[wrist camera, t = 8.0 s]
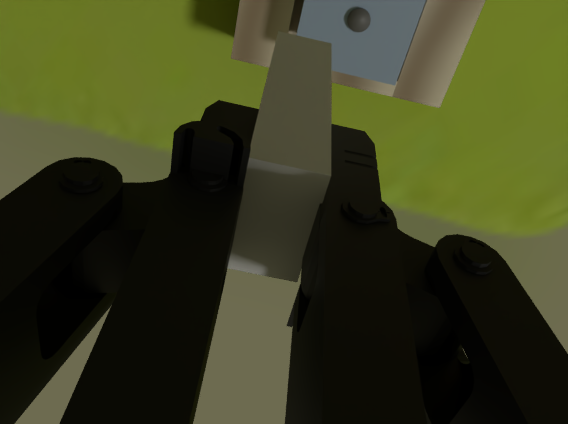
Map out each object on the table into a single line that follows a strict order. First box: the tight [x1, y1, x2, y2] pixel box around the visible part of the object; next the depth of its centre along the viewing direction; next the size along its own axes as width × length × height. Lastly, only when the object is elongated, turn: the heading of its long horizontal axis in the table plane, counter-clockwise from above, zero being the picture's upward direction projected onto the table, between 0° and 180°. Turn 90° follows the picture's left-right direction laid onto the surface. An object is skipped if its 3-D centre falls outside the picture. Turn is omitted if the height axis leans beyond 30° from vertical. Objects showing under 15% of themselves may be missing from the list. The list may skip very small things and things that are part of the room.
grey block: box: [296, 0, 426, 85], centre depth 29 cm, size 6×6×4 cm
